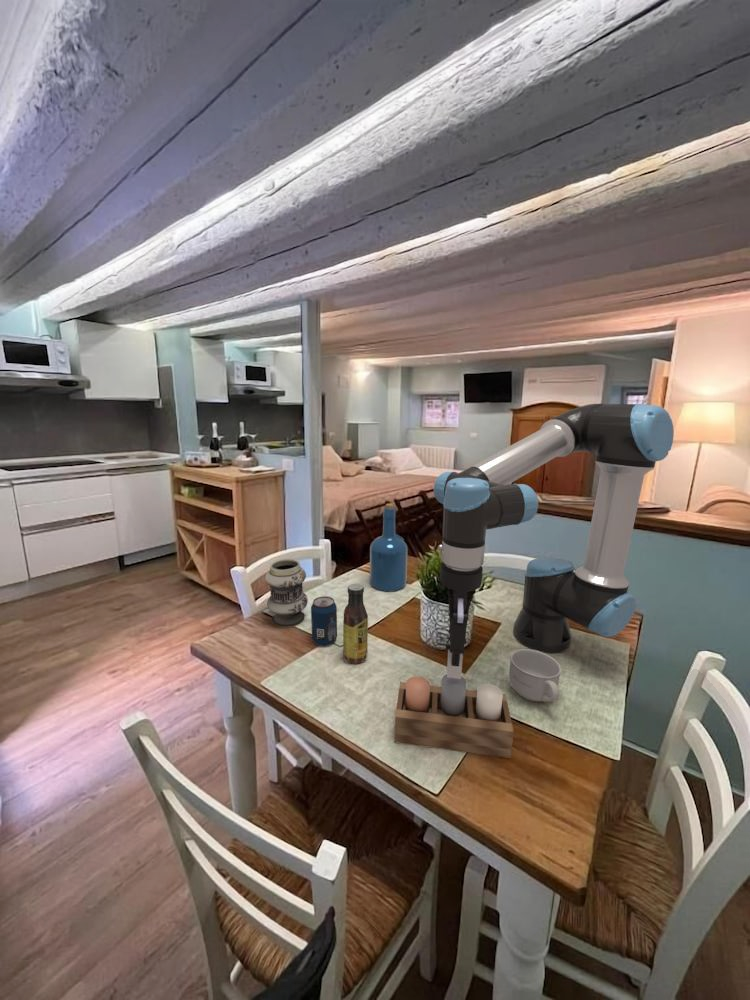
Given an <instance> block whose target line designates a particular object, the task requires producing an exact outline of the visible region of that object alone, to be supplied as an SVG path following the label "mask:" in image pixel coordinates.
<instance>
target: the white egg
mask: <svg viewBox="0 0 750 1000" xmlns="http://www.w3.org/2000/svg"><path fill="white" fill-rule="evenodd" d="M476 691H477V700H476V712H475V718H476V719H480V720H487V721H495V722H500V718H501V708H502V698H503V694H504V693H503V692H502V689H500V688H499V687H498V686H496V685H493V684H490V683H484V684H481V685H479V686H478V687H477V690H476Z"/></svg>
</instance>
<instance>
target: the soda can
mask: <svg viewBox="0 0 750 1000" xmlns="http://www.w3.org/2000/svg"><path fill="white" fill-rule="evenodd" d="M337 608H338V607H337V604H336V602H335V599H334V598H333V597H331V596H327V595H326V596H318V597H316V598H314V599H313V601H312V604H311V607H310V615H311V619H310V620H311V622H310V623H311V639H312V641H313V642H314V643H315V645H317V646H320V647H328V646H331V645H332V644H334V643H335V641H336V640H337V638H338V616H337V615H338V613H337V612H338V609H337Z"/></svg>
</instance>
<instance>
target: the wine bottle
mask: <svg viewBox="0 0 750 1000" xmlns="http://www.w3.org/2000/svg"><path fill="white" fill-rule="evenodd" d="M396 517H397V516H396V508H395V507H394V504H393V503H386V504H385V507H384V508H383V514H382V518H383V522H382V524H383V525H382V535H381V536H378V537H376V538H375V539H374V540H373V541H372V542H371V543H370V546H369V581H370V585H371V586H372V587H373V588H374V589H376V590H378V591H383V592H384V591H385V592H393V591H394V592H395V591H398V590H402V589H404V587H405V585H406V583H407V581H408V580H407V578H408V576H407V575H408V551H409V550H408V545H407V543H406V542H405V539H404V538H403V536H401V535H399V534H397V533H396Z"/></svg>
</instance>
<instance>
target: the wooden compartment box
mask: <svg viewBox="0 0 750 1000" xmlns="http://www.w3.org/2000/svg"><path fill="white" fill-rule="evenodd" d="M507 699H508V698H507V694H506V693H503V698H502V708H501V718H500V722H495V721H487V720H480V719H476V718H475V712H476V700H477V690H473V689H466V696H465V709H464V712H463V713H462V714H461V715H459V716H450V715H447V714H446V713H444V712H443V711H442V710H441V707H440V700H441V686H438V685H431V684H430V698H429V713H424V712H416V711H408V710H405V703H406V681H403V682H402V681H400V682H399V688H398V695H397V701H396V708H395V709H396V710H395V714H394V739H393V740H394V741H393V742H394V743H396V744H404V745H411V746H418V747H425V748H433V749H442V750H446V751H447V750H449V751H454V752H455V751H456V752H462V753H469V754H477V755H484V756H491V757H500V758H505V759H511V758H512V750H513V741H514V731H515V730H514V728H513V722H512V718H511V713H510V707H509V704H508V700H507Z"/></svg>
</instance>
